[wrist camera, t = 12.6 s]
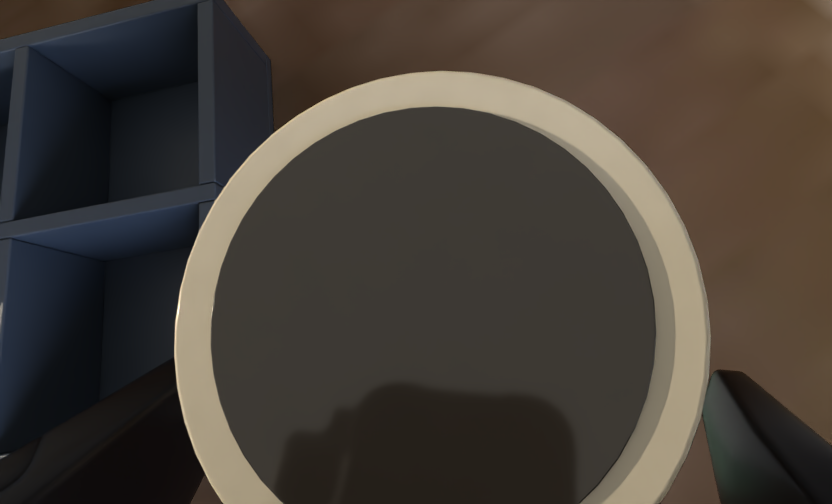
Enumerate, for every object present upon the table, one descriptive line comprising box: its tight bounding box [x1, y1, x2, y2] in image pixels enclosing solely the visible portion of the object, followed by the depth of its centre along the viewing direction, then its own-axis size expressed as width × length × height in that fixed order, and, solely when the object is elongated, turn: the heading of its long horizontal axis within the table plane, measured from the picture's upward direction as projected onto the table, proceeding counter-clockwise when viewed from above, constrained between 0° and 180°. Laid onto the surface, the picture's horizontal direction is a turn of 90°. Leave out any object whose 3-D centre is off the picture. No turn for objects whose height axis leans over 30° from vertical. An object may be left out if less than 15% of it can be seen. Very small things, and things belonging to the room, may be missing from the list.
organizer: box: [0, 0, 274, 459], centre depth 18 cm, size 15×15×4 cm
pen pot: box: [174, 71, 711, 504], centre depth 11 cm, size 6×6×12 cm
